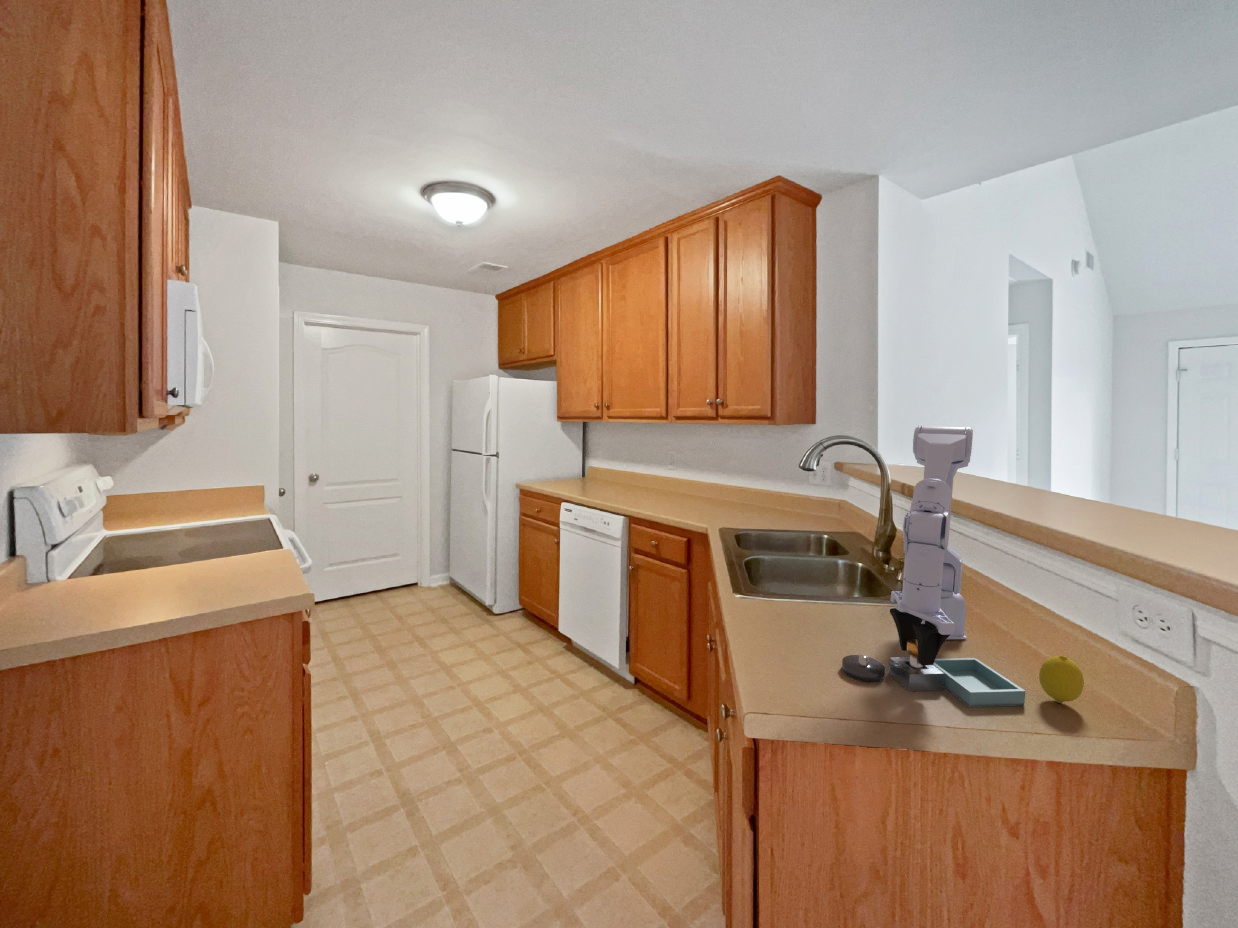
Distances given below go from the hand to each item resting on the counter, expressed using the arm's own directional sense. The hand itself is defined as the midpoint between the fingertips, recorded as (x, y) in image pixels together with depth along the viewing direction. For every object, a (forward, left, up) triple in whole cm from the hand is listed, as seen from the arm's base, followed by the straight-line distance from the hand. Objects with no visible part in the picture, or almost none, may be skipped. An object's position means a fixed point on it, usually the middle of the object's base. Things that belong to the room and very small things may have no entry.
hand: (916, 656), depth 93 cm
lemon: (-20, +8, -5) cm, 21 cm away
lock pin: (0, 0, -4) cm, 4 cm away
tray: (-8, +3, -4) cm, 10 cm away
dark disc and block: (+4, -2, -4) cm, 6 cm away
